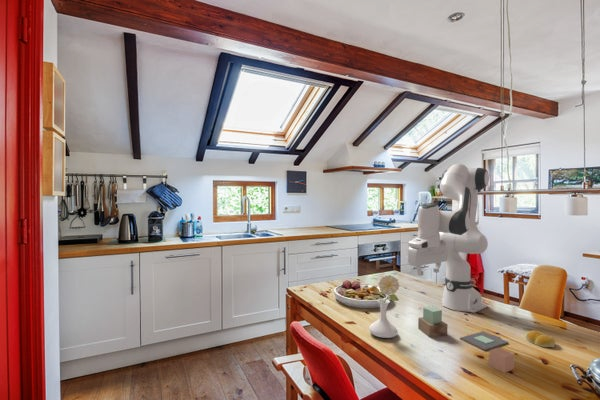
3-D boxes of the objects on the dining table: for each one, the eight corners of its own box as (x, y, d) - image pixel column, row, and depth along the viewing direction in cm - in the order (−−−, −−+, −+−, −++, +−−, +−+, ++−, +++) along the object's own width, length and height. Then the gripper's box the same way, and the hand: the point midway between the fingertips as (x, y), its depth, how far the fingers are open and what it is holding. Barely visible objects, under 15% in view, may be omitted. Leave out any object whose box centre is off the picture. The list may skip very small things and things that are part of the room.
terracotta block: (498, 361, 104) (498, 347, 104) (513, 369, 100) (514, 354, 100) (488, 365, 102) (489, 350, 102) (504, 373, 98) (504, 357, 98)
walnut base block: (435, 327, 131) (435, 316, 131) (447, 336, 123) (447, 324, 123) (418, 329, 130) (418, 317, 130) (429, 337, 122) (429, 325, 122)
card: (483, 332, 126) (483, 330, 126) (508, 343, 117) (508, 341, 117) (460, 339, 120) (460, 337, 120) (484, 351, 111) (484, 348, 111)
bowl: (402, 303, 161) (402, 288, 161) (362, 315, 144) (363, 298, 144) (361, 288, 186) (361, 275, 186) (322, 297, 169) (323, 283, 169)
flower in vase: (363, 332, 125) (363, 272, 125) (380, 325, 132) (381, 268, 132) (389, 345, 115) (390, 279, 114) (407, 337, 122) (408, 275, 121)
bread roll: (547, 350, 113) (547, 339, 113) (521, 339, 121) (522, 329, 121) (561, 346, 116) (561, 336, 116) (535, 336, 124) (535, 326, 124)
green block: (431, 317, 130) (432, 305, 130) (441, 322, 125) (441, 310, 125) (423, 319, 128) (423, 307, 128) (432, 324, 123) (432, 311, 123)
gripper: (439, 238, 137) (439, 268, 137) (405, 242, 128) (405, 275, 128) (451, 240, 131) (451, 272, 132) (416, 245, 122) (416, 279, 123)
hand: (428, 273), depth 130 cm, fingers open, 8 cm apart
